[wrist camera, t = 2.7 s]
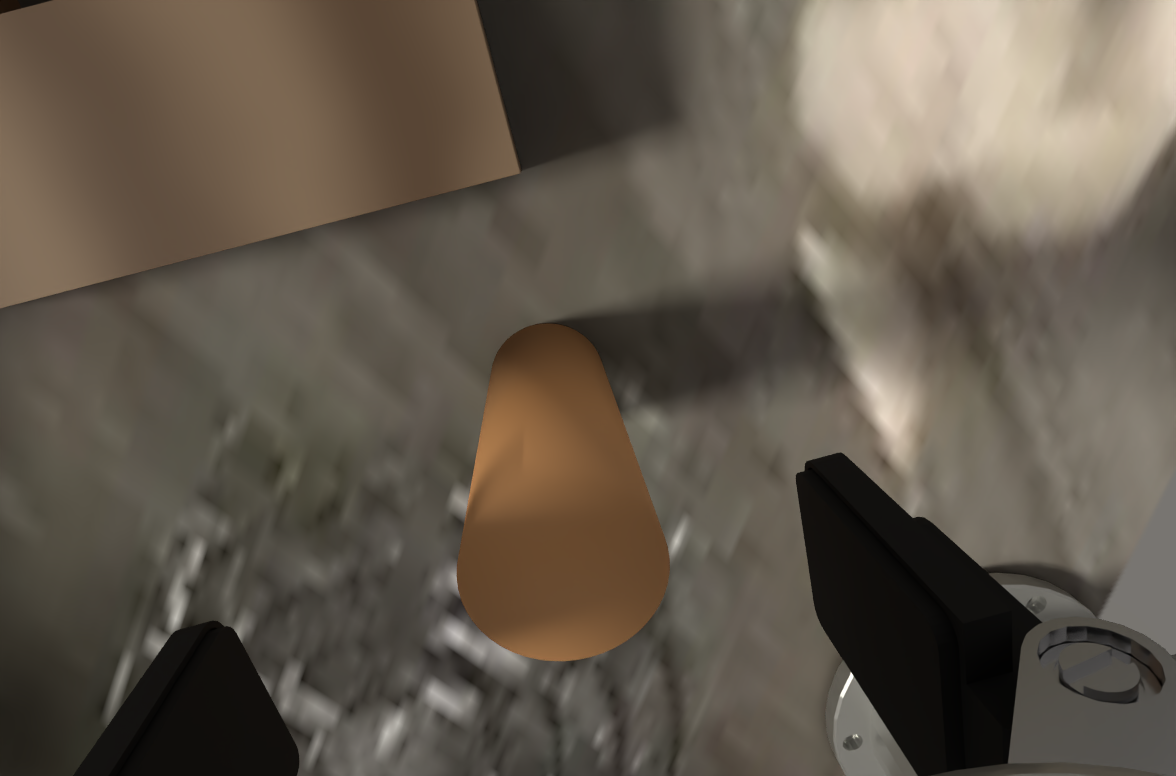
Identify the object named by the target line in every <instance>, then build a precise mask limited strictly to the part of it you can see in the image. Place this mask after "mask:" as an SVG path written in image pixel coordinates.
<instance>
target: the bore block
mask: <svg viewBox="0 0 1176 776" xmlns="http://www.w3.org/2000/svg"><path fill="white" fill-rule="evenodd" d="M521 171H522V168H521V165H520V161H519V157H518V153H517V149H516V146H515V142H514V138H513V134H512V130H511V127H510V123H509V119H508V115H507V112H506V108H505V104H504V100H503V96H502V93H501V89H500V85H499V81H498V77H497V74H496V70H495V66H494V62H493V59H492V55H491V51H490V47H489V43H488V40H487V36H486V32H485V28H484V24H483V21H482V17H481V13H480V9H479V5H478V2H477V0H0V308H3V307H7V306H11V305H15V304H19V303H22V302H26V301H30V300H34V299H38V298H42V297H46V296H49V295H53V294H57V293H61V292H65V291H69V290H73V289H76V288H80V287H84V286H88V285H92V284H96V283H100V282H103V281H107V280H111V279H115V278H119V277H123V276H127V275H130V274H134V273H138V272H142V271H146V270H150V269H153V268H157V267H161V266H165V265H169V264H173V263H177V262H180V261H184V260H188V259H192V258H196V257H200V256H204V255H207V254H211V253H215V252H219V251H223V250H227V249H231V248H234V247H238V246H242V245H246V244H250V243H254V242H258V241H261V240H265V239H269V238H273V237H277V236H281V235H285V234H288V233H292V232H296V231H300V230H304V229H308V228H312V227H315V226H319V225H323V224H327V223H331V222H335V221H339V220H342V219H346V218H350V217H354V216H358V215H362V214H366V213H369V212H373V211H377V210H381V209H385V208H389V207H393V206H396V205H400V204H404V203H408V202H412V201H416V200H420V199H423V198H427V197H431V196H435V195H439V194H443V193H447V192H450V191H454V190H458V189H462V188H466V187H470V186H474V185H477V184H481V183H485V182H489V181H493V180H497V179H501V178H504V177H508V176H512V175H516V174H520V173H521Z"/></svg>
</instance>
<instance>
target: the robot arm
mask: <svg viewBox="0 0 1176 776" xmlns="http://www.w3.org/2000/svg"><path fill="white" fill-rule="evenodd" d="M796 485H797V492H798V499H799V506H800V512H801V519H802V526H803V532H804V539H805V546H806V553H807V559H808V566H809V573H810V580H811V586H812V593H813V600H814V606H815V610H816V613H817V616H818V619H819V621H820V624H821V626H822V627H823V629H824V631H825V632H826V634H827V636H828V637H829V639H830V640H831V642H832V643H833V645H834V646H835V648H836V650H837V651H838V653H839V654H840V656H841V657H842V659H843V661H842V662H841V664H840V666H839V667H838V669H837V671H836V673H835V676H834V679H833V681H832V684H831V687H830V690H829V692H828V698H827V705H826V713H825V719H826V729H827V737H828V739H829V742H830V745H831V748H832V750H833V753H834V755H835V757H836V759H837V761H838V763H839V764H840V766H841V768H842V770H843V772H844V773H845V775H846V776H1176V654H1175V655H1170V654H1169V653H1168V652H1167V651H1166V650H1165V649H1164V648H1163V647H1161V646H1160V645H1159V644H1157V643H1156V642H1154V641H1153V640H1151V639H1150V638H1148V637H1147V636H1145V635H1143V634H1141V633H1139V632H1137V631H1134V630H1132V629H1130V628H1128V627H1125V626H1123V625H1120V624H1116V623H1112V622H1109V621H1104V620H1101V619H1097V618H1096V617H1095V616H1094V614H1093V613H1092V612H1091V611H1090V610H1089V609H1088V608H1086V607H1085V606H1084V605H1083V604H1081V603H1080V602H1079V601H1078V600H1076V599H1075V598H1074V597H1073V596H1071V595H1070V594H1069V593H1068V592H1066V591H1064V590H1062V589H1060V588H1059V587H1057V586H1055V585H1053V584H1051V583H1049V582H1047V581H1044V580H1040V579H1037V578H1033V577H1030V576H1026V575H1020V574H1008V573H989V574H988V573H987V572H986V571H985V570H984V569H983V568H982V567H980V566H979V565H978V564H977V563H976V562H975V561H974V560H973V559H972V558H971V557H969V556H968V555H967V554H966V553H965V552H964V551H963V550H962V549H961V548H959V547H958V546H957V545H956V544H955V543H954V542H953V541H952V540H951V539H949V538H948V537H947V536H946V535H945V534H944V533H943V532H942V531H941V530H939V529H938V528H937V527H936V526H935V525H934V524H933V523H932V522H930V521H929V520H927V519H926V518H923V517H915V518H912V517H911V516H910V515H909V514H908V513H907V512H906V511H904V510H903V509H902V508H901V507H900V506H899V505H898V504H897V503H896V502H895V501H894V500H893V499H892V498H891V497H889V496H888V495H887V494H886V493H885V492H884V491H883V490H882V489H881V488H880V487H879V486H878V485H877V484H876V483H874V482H873V481H872V480H871V479H870V478H869V477H868V476H867V475H866V474H865V473H864V472H863V471H862V470H860V469H859V468H858V467H857V466H856V465H855V464H854V463H853V462H852V461H851V460H850V459H849V458H848V457H847V456H845V455H844V454H843V453H836V454H832V455H828V456H825V457H821V458H817V459H813V460H810V461H807V462H806V463H805V471H803V472H800V473H797V474H796ZM298 769H299V753H298V749H297V746H296V744H295V742H294V740H293V738H292V736H291V734H290V733H289V731H288V729H287V727H286V725H285V723H284V721H283V719H282V718H281V716H280V714H279V712H278V710H277V708H276V706H275V705H274V703H273V701H272V699H271V697H270V695H269V693H268V691H267V690H266V688H265V686H264V684H263V682H262V680H261V678H260V676H259V675H258V673H257V671H256V669H255V667H254V665H253V663H252V662H251V660H250V658H249V656H248V654H247V652H246V650H245V648H244V647H243V645H242V643H241V641H240V639H239V637H238V635H237V633H236V632H235V631H234V629H232V628H231V627H228V626H226V627H224V626H223V625H222V624H221V623H219V622H218V621H210V622H206V623H202V624H198V625H195V626H191V627H187V628H183V629H180V630H177V631H175V632H174V633H173V634H172V635H171V636H170V638H169V639H168V641H167V642H166V643H165V645H164V646H163V648H162V649H161V651H160V652H159V653H158V655H157V656H156V658H155V659H154V661H153V662H152V664H151V665H150V666H149V668H148V669H147V671H146V672H145V674H144V675H143V676H142V678H141V679H140V681H139V682H138V684H137V685H136V686H135V688H134V689H133V691H132V692H131V694H130V695H129V696H128V698H127V699H126V701H125V702H124V704H123V705H122V706H121V708H120V709H119V711H118V712H117V714H116V715H115V716H114V718H113V719H112V721H111V722H110V724H109V725H108V727H107V728H106V729H105V731H104V732H103V734H102V735H101V737H100V738H99V739H98V741H97V742H96V744H95V745H94V747H93V748H92V749H91V751H90V752H89V754H88V755H87V757H86V758H85V759H84V761H83V762H82V764H81V765H80V767H79V768H78V769H77V771H76V772H75V774H74V775H73V776H297V773H298Z"/></svg>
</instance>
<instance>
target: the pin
mask: <svg viewBox="0 0 1176 776" xmlns="http://www.w3.org/2000/svg"><path fill="white" fill-rule="evenodd" d="M669 571H670V559H669V552H668V547H667V543H666V540H665V537H664V534H663V531H662V529H661V526H660V523H659V520H658V517H657V515H656V512H655V509H654V506H653V504H652V501H651V498H650V495H649V492H648V490H647V487H646V484H645V481H644V478H643V476H642V473H641V470H640V467H639V464H638V462H637V459H636V456H635V453H634V451H633V448H632V445H631V442H630V439H629V437H628V434H627V431H626V428H625V425H624V423H623V420H622V417H621V414H620V412H619V409H618V406H617V403H616V400H615V398H614V395H613V392H612V389H611V386H610V384H609V381H608V378H607V375H606V372H605V370H604V367H603V364H602V361H601V359H600V356H599V354H598V352H597V350H596V349H595V347H594V346H593V344H592V343H591V342H590V341H589V340H588V339H587V338H586V337H585V336H583V335H582V334H581V333H579V332H578V331H576V330H574V329H572V328H570V327H567V326H564V325H559V324H551V323H545V324H537V325H532V326H529V327H526V328H524V329H522V330H520V331H518V332H516V333H515V334H513V335H512V336H511V337H510V338H509V339H507V340H506V341H505V343H504V344H503V345H502V346H501V348H500V349H499V351H498V352H497V354H496V357H495V359H494V362H493V365H492V371H491V376H490V382H489V387H488V393H487V399H486V404H485V410H484V416H483V421H482V427H481V433H480V438H479V444H478V450H477V455H476V461H475V467H474V472H473V478H472V483H471V489H470V495H469V500H468V506H467V512H466V517H465V523H464V529H463V534H462V540H461V546H460V551H459V557H458V562H457V583H458V590H459V593H460V597H461V600H462V603H463V605H464V607H465V609H466V611H467V613H468V615H469V616H470V618H471V619H472V621H473V622H474V623H475V624H476V626H477V627H478V628H479V629H480V630H481V631H482V632H483V633H484V634H485V635H486V636H488V637H489V638H490V639H491V640H493V641H494V642H496V643H497V644H499V645H500V646H502V647H504V648H506V649H508V650H510V651H512V652H514V653H517V654H520V655H522V656H526V657H530V658H534V659H539V660H547V661H569V660H578V659H583V658H588V657H592V656H595V655H598V654H601V653H604V652H606V651H608V650H611V649H613V648H615V647H617V646H618V645H620V644H622V643H624V642H625V641H627V640H628V639H629V638H631V637H632V636H633V635H635V634H636V633H637V632H638V631H639V630H640V629H641V628H642V627H643V626H644V625H645V624H646V623H647V622H648V621H649V620H650V618H651V617H652V616H653V615H654V613H655V611H656V610H657V608H658V607H659V605H660V603H661V601H662V598H663V596H664V594H665V591H666V587H667V584H668V578H669Z"/></svg>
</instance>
